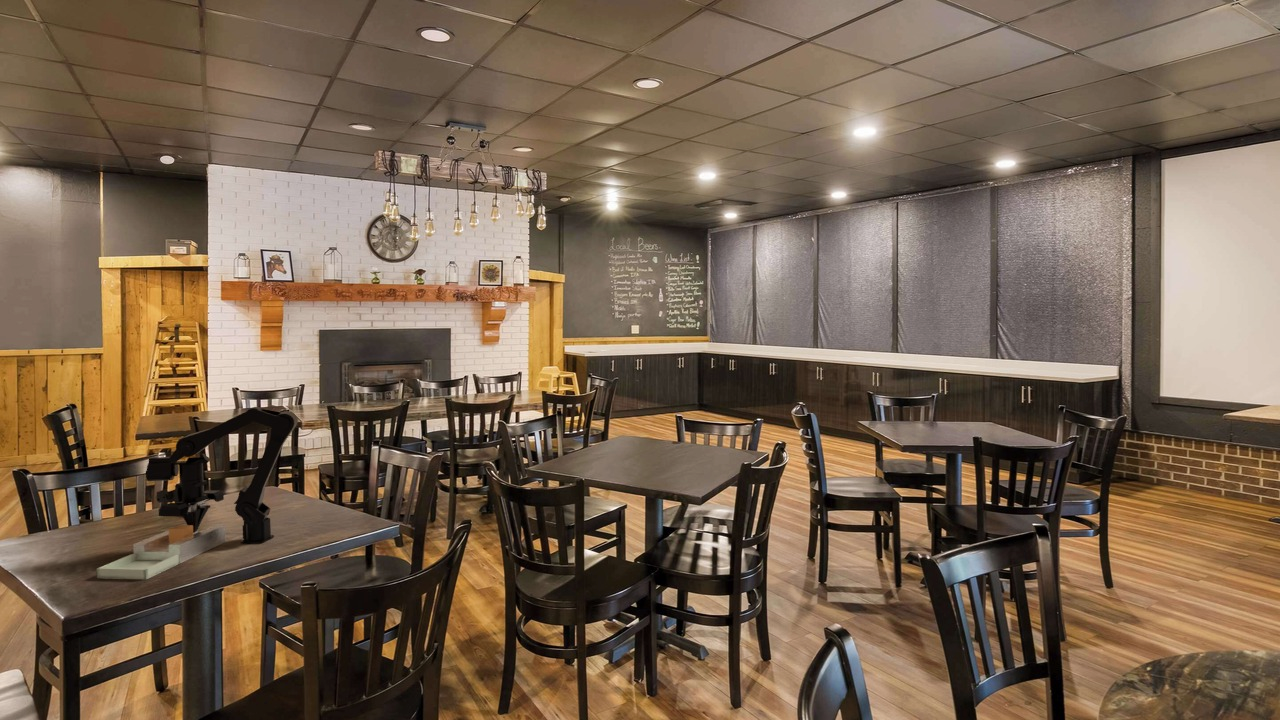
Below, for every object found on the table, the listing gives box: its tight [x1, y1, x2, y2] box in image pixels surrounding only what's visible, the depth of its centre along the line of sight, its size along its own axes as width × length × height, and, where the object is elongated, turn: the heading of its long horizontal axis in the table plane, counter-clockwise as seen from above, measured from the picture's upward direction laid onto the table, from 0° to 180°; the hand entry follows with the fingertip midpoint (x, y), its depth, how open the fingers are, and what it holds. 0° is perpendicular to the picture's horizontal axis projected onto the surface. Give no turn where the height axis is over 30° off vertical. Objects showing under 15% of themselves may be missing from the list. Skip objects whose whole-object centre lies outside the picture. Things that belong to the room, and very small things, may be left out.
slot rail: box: [133, 524, 227, 564], centre depth 191 cm, size 13×18×5 cm
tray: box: [96, 553, 180, 580], centre depth 176 cm, size 13×11×2 cm
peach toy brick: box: [168, 524, 193, 543], centre depth 190 cm, size 4×4×4 cm
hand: (193, 532), depth 195 cm, fingers closed
